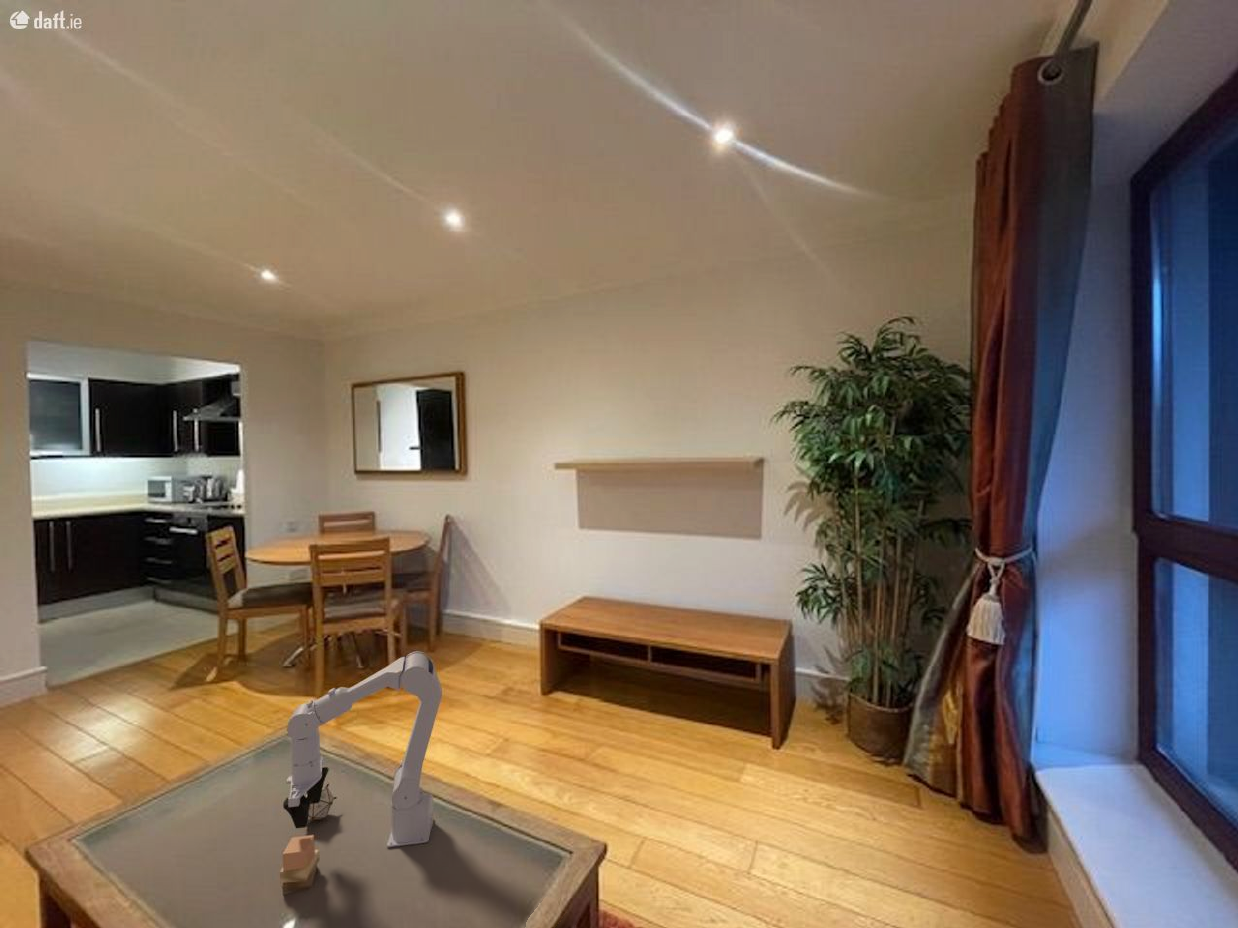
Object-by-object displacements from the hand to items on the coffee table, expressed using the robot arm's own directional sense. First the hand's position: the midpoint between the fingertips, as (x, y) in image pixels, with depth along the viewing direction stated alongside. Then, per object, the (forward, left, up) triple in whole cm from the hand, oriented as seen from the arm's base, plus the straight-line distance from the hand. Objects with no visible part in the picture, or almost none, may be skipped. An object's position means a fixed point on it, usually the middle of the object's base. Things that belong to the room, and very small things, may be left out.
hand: (308, 814), depth 120 cm
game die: (+3, -12, -11) cm, 17 cm away
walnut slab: (-1, +7, -11) cm, 13 cm away
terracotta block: (-1, +7, -6) cm, 9 cm away
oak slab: (-1, +6, -8) cm, 10 cm away
